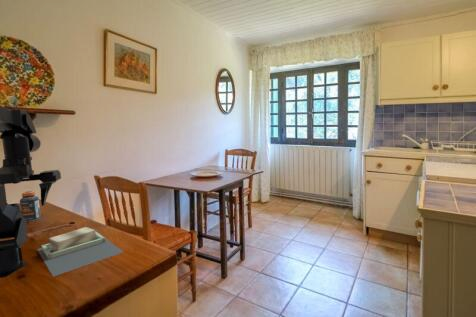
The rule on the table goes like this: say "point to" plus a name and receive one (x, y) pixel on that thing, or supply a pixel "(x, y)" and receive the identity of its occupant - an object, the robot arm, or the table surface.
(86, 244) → the tray frame
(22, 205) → the pill bottle
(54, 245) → the card box
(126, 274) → the table surface
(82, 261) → the mat
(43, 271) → the table surface
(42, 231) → the key
